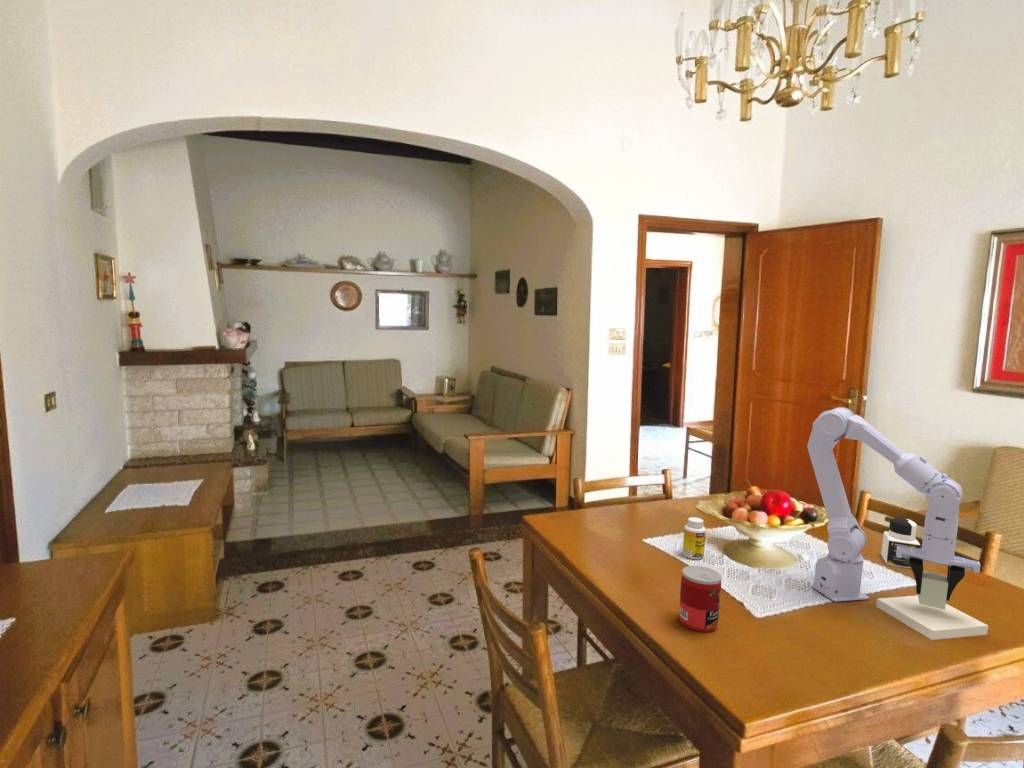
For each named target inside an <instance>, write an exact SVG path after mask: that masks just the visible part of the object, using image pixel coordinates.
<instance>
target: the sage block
mask: <svg viewBox="0 0 1024 768" xmlns="http://www.w3.org/2000/svg"><path fill="white" fill-rule="evenodd" d="M947 590H948V580H947V574H946V575H945V574H942V573H937V572H930V571H926V570H923V573H922V580H921V592H920V594H917V595H918V599H919V604H922V605H926V606H931V607H935V608H939V609H944V610H945V606H946V604H947V600H946V598H947Z"/></svg>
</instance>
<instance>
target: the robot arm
mask: <svg viewBox="0 0 1024 768" xmlns="http://www.w3.org/2000/svg"><path fill="white" fill-rule="evenodd" d="M843 437H844V439H847V440H855V441H860V442H862V443H864V444H865V445H867V446H868V447H870V449H872V450H874V451H875V452H877V453H878V454H879V455H881V456H882V457H883V458H885V459H886V460H887V461H889V462H890V463H892V464H893V467H894V473H895V474H896V475H898V476H899V477H900V478H902V480H904V481H905V482H906V483H908V484H909V485H910V486H912V487H913V489H916V491H918V492H919V493H921V494H923V495H925V500H926V502H927V510H926V512H925V518H924V526H923V534H922V535H923V536H922V542H921V543H922V544H921V548H920V549H919V548H908V547H901V546H897V552H896V556H897V557H900V558H902V557H905V558H909V563H910V566H911V568H912V569H911V570H912V574H913V576H914V581H915V587H916V588H915V592H916V595H918V594H920V592H921V580H922V573H923V571H924V562H925V563H931V564H935V565H941V566H946V567H947V574H946V577H947V580H948V590H947V598H946V602H947V601H948V602H949V601H950V598H951V595H952V594H953V592H954V591H955V588H956V587H957V586H958V584H959V583H960V582H961V581H962V580H963V579H964V577H965V576H966V571H970V572H973V573H976V574H980V570H981V563H980V561H977V560H973V559H969V558H966V557H962V556H957V555H955V551H956V543H957V535H958V527H959V522H960V521H959V520H960V518H959V514H960V504H961V501H962V499H963V495H964V492H963V488H962V486H961V485H960V484H959V482H957V480H956V479H954V478H951V477H948V475H947V474H946V473H945V472H943V473H941V472H940V471H938V470H937V469H936V468H934V467H933V466H932V465H931V464H929V463H928V462H926V461H927V460H928V458H927V457H925V456H923V455H921V456H918V455H917V454H916V453H906V452H904V451H903V450H901V448H899V447H898V446H896V445H895V444H894V443H893V442H892V441H891V440H889V439H888V438H887V437H886V436H885V435H883V434H882V433H881V432H880V431H879V430H877V429H876V428H875V427H874V426H873V425H871V424H870V423H869V422H868V421H866V419H864V418H863V417H862V416H861V415H858V414H855V413H854V412H853V411H852V410H851V409H850V408H847V407H843V406H839V407H838V406H837V407H835V408H833V409H831V410H829V409H828V410H825V411H823V412H821V413H820V414H819V415H818V417H817V418H816V419H815V420H814V421H813V422H812V429H811V433H810V436H809V439H808V443H807V446H806V447H807V451H808V454H809V458H810V461H811V466H812V468H813V472H814V475H815V479H816V482H817V485H818V488H819V491H820V492H819V493H820V495H821V499H822V503H823V505H824V510H825V514H826V515H827V516H826V517H827V529H826V530H827V534H828V539H827V549H828V553H827V555H826V556H824V557H821V558H820V557H819V558H818V559H816V560H817V561H816V563H815V568H814V578H813V579H814V581H813V584H811V585H810V587H811V586H812V587H811V588H813V589H814V588H815V591H817V590H818V592H819V593H820V592H821V593H820V594H822V595H823V594H824V595H823V596H825V597H827V598H828V599H829V600H831V601H833V602H835V603H836V602H847V601H863V600H869V598H870V597H869V596H868V595H866V594H865V593H863V592H861V587H862V579H863V578H862V576H863V570H864V569H863V568H864V560H865V559H864V557H863V554H862V552H861V551H862V550H863V549H864V548H865V547H866V545H867V544H868V543H867V542H868V539H867V536H866V535H867V534H866V533H865V532H864V531H863V530H862V528H861V527H860V525H859V523H858V520H857V518H856V517H855V516H854V515H853V514H852V511H851V507H850V504H849V501H848V498H847V497H848V496H847V492H846V490H845V487H844V483H843V481H842V478H841V473H840V470H839V467H838V463H837V460H836V458H835V457H836V456H835V453H834V448H835V446H837V444H838V443H839V442H840V440H841V438H843Z"/></svg>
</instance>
